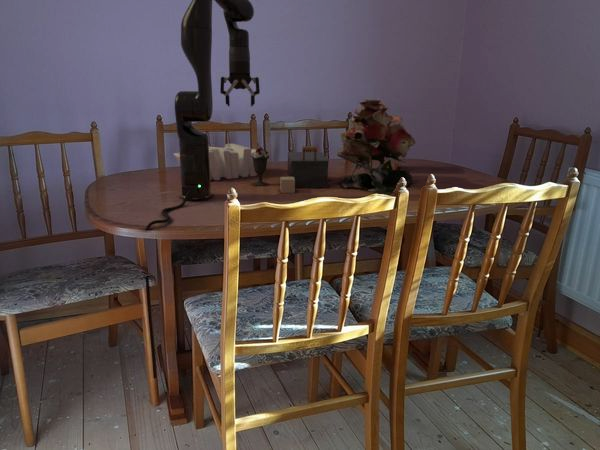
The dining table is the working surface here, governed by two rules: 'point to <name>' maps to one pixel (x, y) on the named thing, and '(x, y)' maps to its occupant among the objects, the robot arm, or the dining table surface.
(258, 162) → the sundae
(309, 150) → the lid
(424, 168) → the dining table surface
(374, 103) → the rose bouquet
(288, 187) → the block
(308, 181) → the chest
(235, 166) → the wavy white extrusion
